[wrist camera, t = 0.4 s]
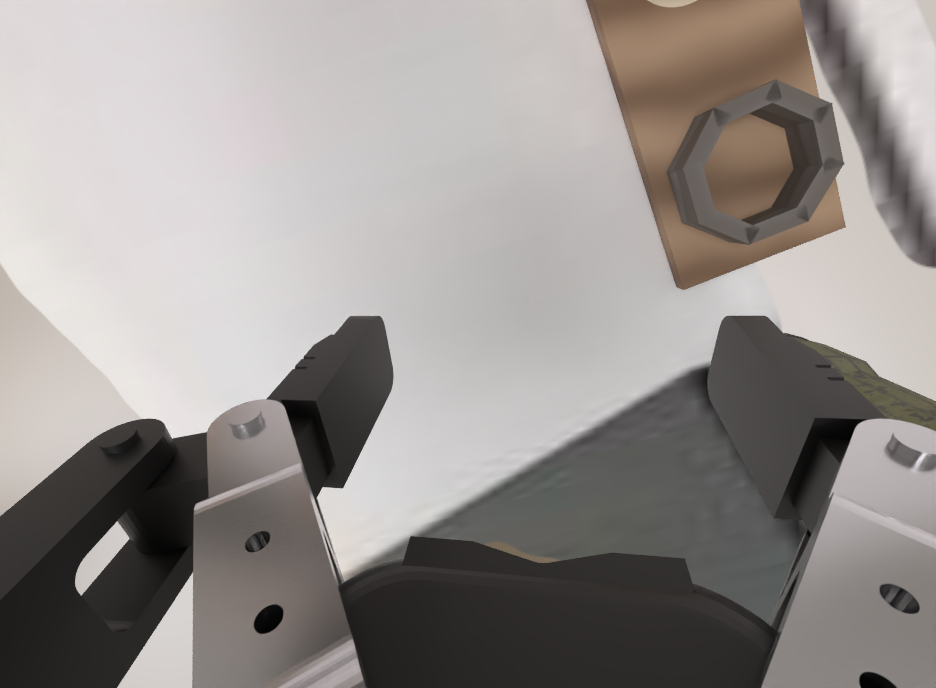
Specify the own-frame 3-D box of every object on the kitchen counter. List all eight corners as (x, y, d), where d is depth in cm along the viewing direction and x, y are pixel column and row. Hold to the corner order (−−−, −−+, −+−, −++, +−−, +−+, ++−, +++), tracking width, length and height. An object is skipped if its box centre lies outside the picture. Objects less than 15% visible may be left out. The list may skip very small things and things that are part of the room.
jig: (556, -95, 29) (566, -147, 25) (739, -201, 27) (784, -278, 23) (676, 286, 36) (700, 297, 32) (831, 226, 34) (879, 228, 30)
